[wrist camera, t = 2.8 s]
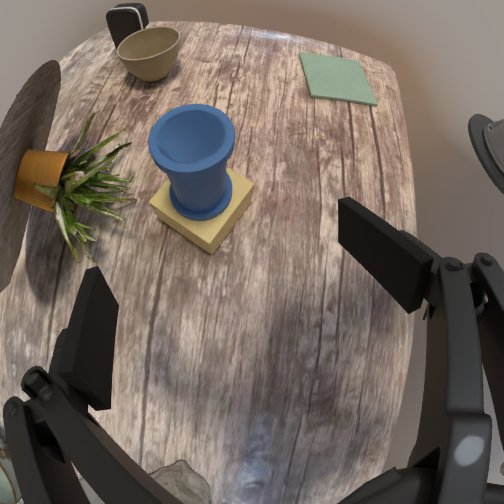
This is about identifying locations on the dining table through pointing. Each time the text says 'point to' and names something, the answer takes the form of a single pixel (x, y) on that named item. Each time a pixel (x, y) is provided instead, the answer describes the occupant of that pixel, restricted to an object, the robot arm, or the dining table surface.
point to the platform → (210, 230)
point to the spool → (195, 158)
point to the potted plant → (47, 171)
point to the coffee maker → (90, 493)
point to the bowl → (7, 477)
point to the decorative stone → (183, 483)
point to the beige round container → (150, 52)
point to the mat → (336, 79)
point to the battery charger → (126, 21)
